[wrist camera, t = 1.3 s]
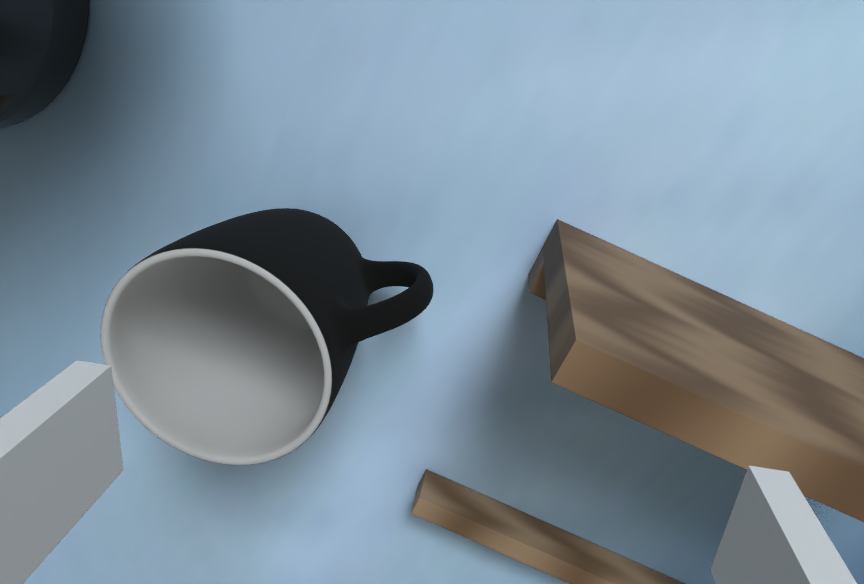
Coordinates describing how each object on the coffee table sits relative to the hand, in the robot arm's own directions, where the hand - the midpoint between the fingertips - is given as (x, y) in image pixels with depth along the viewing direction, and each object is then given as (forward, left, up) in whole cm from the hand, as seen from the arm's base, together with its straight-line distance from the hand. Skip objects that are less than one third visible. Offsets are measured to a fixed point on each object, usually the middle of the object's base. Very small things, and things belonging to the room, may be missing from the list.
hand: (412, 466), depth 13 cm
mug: (-6, -5, -19) cm, 20 cm away
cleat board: (+12, -7, -19) cm, 23 cm away
